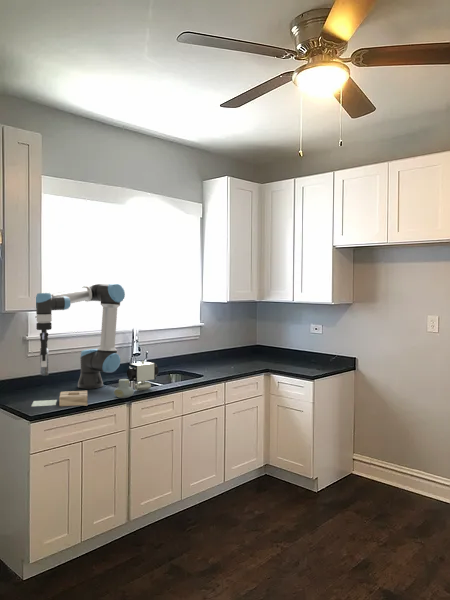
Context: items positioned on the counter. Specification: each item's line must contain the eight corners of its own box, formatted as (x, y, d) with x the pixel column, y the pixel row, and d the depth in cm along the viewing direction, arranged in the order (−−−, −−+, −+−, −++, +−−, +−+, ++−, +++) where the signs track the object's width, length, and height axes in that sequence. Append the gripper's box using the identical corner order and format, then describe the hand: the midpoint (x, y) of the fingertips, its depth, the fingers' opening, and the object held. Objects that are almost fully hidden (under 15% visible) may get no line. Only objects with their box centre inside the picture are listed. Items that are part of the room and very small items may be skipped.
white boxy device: (151, 386, 311) (151, 358, 310) (158, 389, 304) (158, 360, 303) (125, 390, 299) (125, 361, 299) (132, 393, 293) (132, 363, 292)
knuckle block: (60, 400, 273) (60, 391, 273) (87, 399, 277) (87, 390, 277) (59, 407, 260) (59, 397, 259) (87, 405, 263) (87, 396, 263)
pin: (40, 374, 267) (40, 348, 266) (48, 373, 268) (48, 347, 267) (40, 375, 263) (39, 349, 262) (48, 375, 264) (47, 348, 264)
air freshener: (111, 397, 282) (111, 379, 282) (121, 394, 289) (121, 377, 289) (126, 399, 277) (126, 381, 276) (136, 397, 284) (136, 379, 283)
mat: (33, 401, 270) (33, 401, 270) (57, 400, 273) (57, 399, 273) (31, 407, 259) (31, 406, 259) (55, 406, 262) (55, 405, 262)
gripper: (37, 321, 272) (38, 363, 273) (34, 323, 255) (35, 369, 256) (52, 320, 274) (52, 363, 275) (50, 323, 257) (50, 368, 258)
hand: (44, 366), depth 265 cm, fingers closed on pin, 4 cm apart
